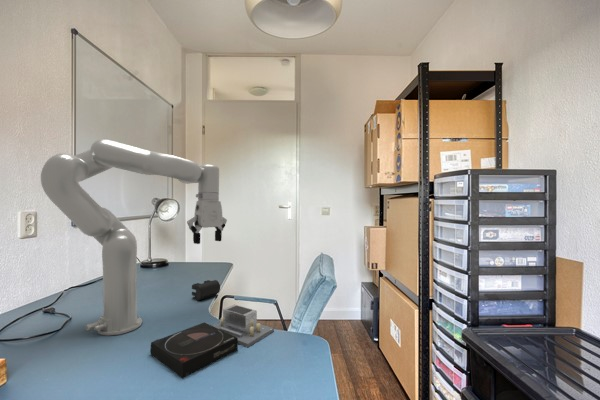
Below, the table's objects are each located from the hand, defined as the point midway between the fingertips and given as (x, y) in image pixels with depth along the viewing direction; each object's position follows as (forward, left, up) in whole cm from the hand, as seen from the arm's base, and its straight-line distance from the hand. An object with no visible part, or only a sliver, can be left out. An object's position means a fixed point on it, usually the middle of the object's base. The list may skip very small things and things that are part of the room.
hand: (207, 242), depth 111 cm
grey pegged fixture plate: (-6, -23, -26) cm, 35 cm away
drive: (-6, -23, -25) cm, 35 cm away
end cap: (+10, +13, -27) cm, 31 cm away
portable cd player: (-22, -21, -27) cm, 41 cm away
